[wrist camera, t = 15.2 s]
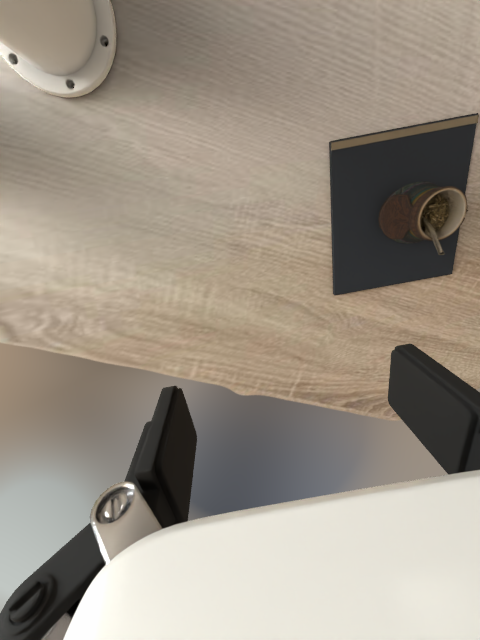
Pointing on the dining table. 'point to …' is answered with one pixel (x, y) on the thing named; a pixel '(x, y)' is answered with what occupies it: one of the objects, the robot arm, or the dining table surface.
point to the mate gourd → (423, 213)
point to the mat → (377, 185)
